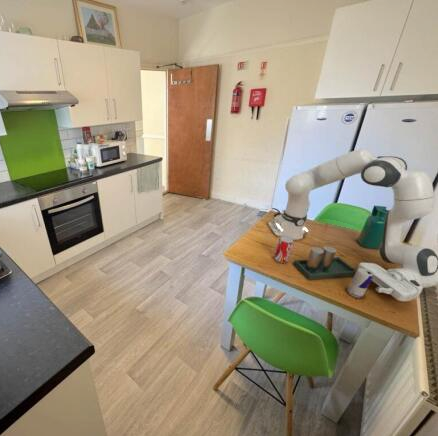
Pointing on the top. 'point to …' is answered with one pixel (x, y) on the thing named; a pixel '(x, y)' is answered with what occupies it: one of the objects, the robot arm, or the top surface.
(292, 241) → the soda can
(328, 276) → the drinks tray
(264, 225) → the top surface
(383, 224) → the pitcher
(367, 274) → the energy drink
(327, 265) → the matching cans
